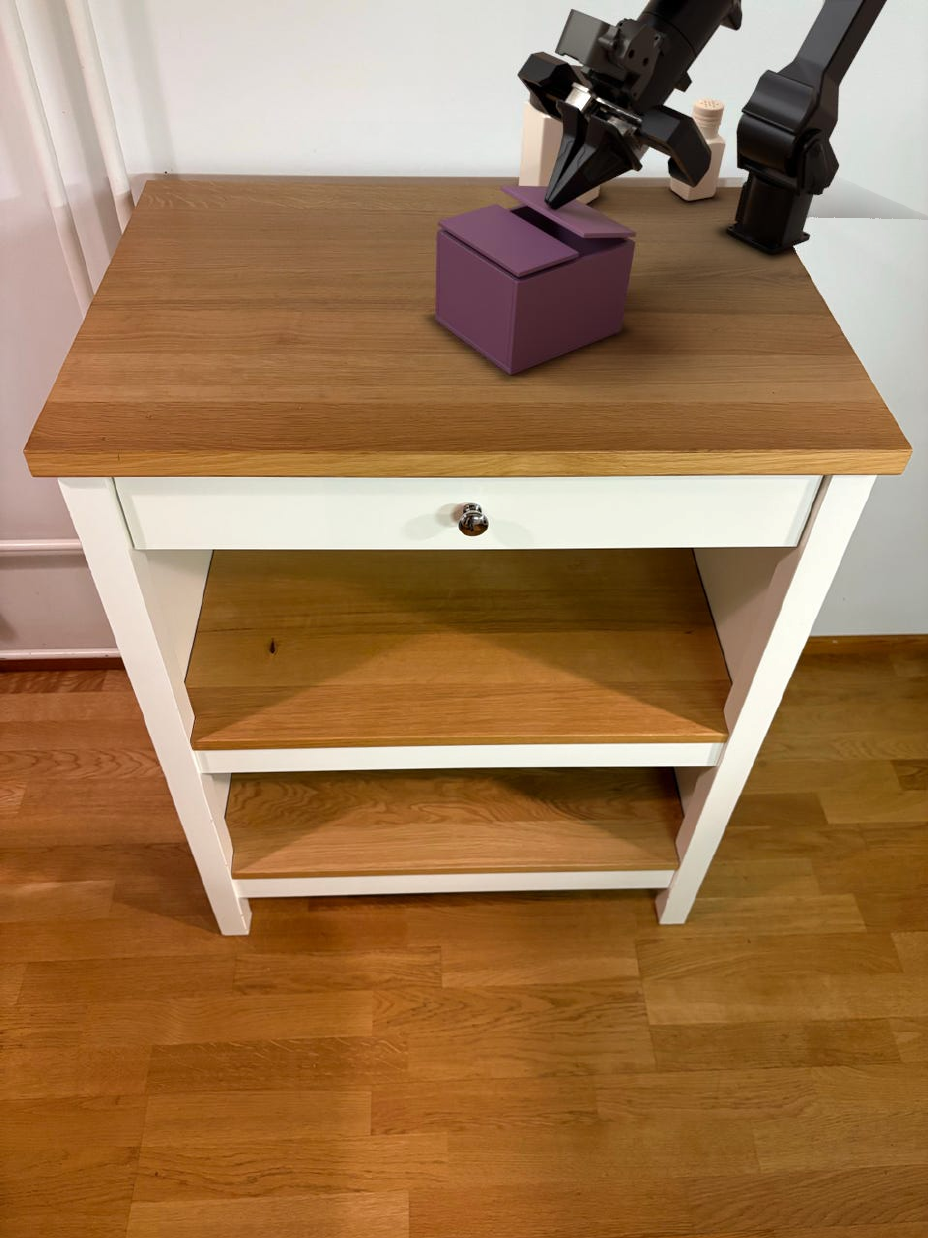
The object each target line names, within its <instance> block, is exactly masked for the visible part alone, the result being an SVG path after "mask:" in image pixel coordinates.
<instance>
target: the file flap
mask: <svg viewBox="0 0 928 1238" xmlns="http://www.w3.org/2000/svg"><path fill="white" fill-rule="evenodd" d="M547 189H548V186H519V185H510V184H509V185H503V184H501V185H500V188H499V190H500V191H501V192H503V193H504V194H506V195H508V196H510V197H511V198H513V199H515V200H517V201H518V202H520V203H522V204H525V205H527V206H529V207H531V208H532V209H534V210H536V211H537V212H539V213H541V214H543V215H544V216H546V217H548V218H549V219H551V220H553V221H555V222H556V223H558V224H560V225H562V226H563V227H565V228H567V229H568V230H570V231H572V232H574V233H575V234H577V235H579V236H581V237H582V238H615V237H627V238H636V236H637V231H635V230H632V228H631V229H630V228H629V227H627V226H626V225H623V224H622V223H620V222H618V221H616V220H615V219H612V218H611V217H609V216H607V215H606V214H604V213H602V212H600V211H599V210H597V209H594V208H593V207H591V206H589V205H588V204H584V203H582V202H580V201H578V200H576V199H574V200H573V201H571V202H569V203H567V204H566V205H564V206H562V207H560V208H559V209H557V210H554V209H552V208H550V207H548V205H547V204H546V203H545V201H544V199H545V195H546V192H547Z"/></svg>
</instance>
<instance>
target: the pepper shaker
mask: <svg viewBox="0 0 928 1238" xmlns="http://www.w3.org/2000/svg"><path fill="white" fill-rule="evenodd" d="M692 107H693V108H692V113H691V117H692V118H693V119H694V121H695V123H696V124H697V126H698V128H699V130H700V132H701V133H702V135H703V137H704V139H705V141H706V142H707V144H708V146H709V148H710V149H711V151H712V155H711V162H710V167H709V170H708V171H707V173H706V174H705V175H704V177H703V178H702V179H701V181H700V182H699V183H698V185H697V186H696V187H694V188H693V187H691V186H689V185H687V184H685V183H683V182H681V181H679V180H677V179H675V178H673V177H671V176H670V181H669V188H670V190H671V191H672V192H674V193H675V194H677V195H678V196H679V197H681V198H682V199H683V200H684V201H695V200H700V199H706V198H712V197H713V196H714V195H715V193H716V191H717V190H716V189H717V185H718V181H719V177H720V172H721V167H722V163H723V159H724V154H725V149H726V144H727V143H726V140H725V139H724V138H723V136H722V135H720V134H719V130H720V126H721V125H722V120H723V115H724V110H725V107H726V105H725V104H724V103H723V102H722V101H720V100H717V99H712V98H700V99H696V100H695V101H694V103H693V106H692Z"/></svg>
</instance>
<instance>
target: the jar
mask: <svg viewBox="0 0 928 1238" xmlns="http://www.w3.org/2000/svg"><path fill="white" fill-rule="evenodd" d="M570 66H571V67H572V69H573V70H574V72H575V73H576V75H577V76H578V78H579V79H580V81H581V82H582V84H583V85H584V86H585V87H586V88H588V89H590V88H591V86H592V84H591V83H590V81H588V80H586V79H585V78H584V76H583V75H582V73H581V72H580V69H581V68H582V66H583V65H576V64H575V65H574V64H570ZM600 110H602V111H604V110H603V109H602V107H601V108H600ZM605 112H606V111H605ZM562 135H563V123H561V122H559V121H557V120H555V119H553V118H551V117H550V116H549V115H548V114H547V113H545V112H544V110H543V109H542V108H541V106H540V105H539V104H538V102H537V101H536V100H535V98H534V97H533V96H532V94H531V93H530V92H529V99H527V100H526V101H525V102H524V112H523V125H522V135H521V137H522V139H521V151H520V163H519V177H518V186H548V185H549V182H550V179H551V176H552V172H553V169H554V166H555V163H556V159H557V156H558V153H559V149H560V144H561V140H562ZM600 188H601V185H599V186H597V187H595V188H594V189H592V190H590V191H588V192H586V193H585V194H583V195H581V196H579V197H578V198H576V200H578V201H580V202H582V203H584V204H586V205H588V204H589V203H590V202H592V201H593V200H595V199H597V198H598V197H599V195H600Z"/></svg>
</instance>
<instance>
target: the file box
mask: <svg viewBox="0 0 928 1238" xmlns="http://www.w3.org/2000/svg"><path fill="white" fill-rule="evenodd" d="M437 226H438V227H440V228H439V229H437V230H436V249H435V251H436V255H435V257H436V258H435V259H436V260H435V265H436V266H435V309H434V310H435V311H434V312H435V316H434V320H435V322H437V323H439V325H441V326H443V327H444V328H445V329H446V330H448V331H449V332H451V334H453V335H454V336H456V337H457V338H459V339H460V340H461V341H463V342H464V343H466V344H467V345H468V346H469V347H471V348H472V349H474V351H476V352H478V353H479V354H480V355H482V356H483V357H485V358H486V359H487V360H488V361H490V362H492V363H493V364H494V365H496V366H497V367H498V368H500V369H501V370H502V371H503V372H505V373H506V374H507V375H509V376H513V375H515V374H517V373H520V372H523V371H525V370H527V369H530V368H533V367H536V366H538V365H540V364H542V363H546V362H548V361H550V360H553V359H555V358H558V357H560V356H563V355H566V354H567V353H571V352H574V351H575V350H578V349H580V348H583V347H585V346H589V345H590V344H593V343H595V342H598V341H601V340H603V339H605V338H608V337H610V336H613V335H616V334H618V333H621V331H622V325H623V319H624V313H625V309H626V308H625V307H626V301H627V296H628V289H629V284H630V279H631V271H632V265H633V259H634V254H635V249H636V248H635V247H636V241H634V240H632V239H631V238H630V237H615V238H582V237H581V236H579V235H577V234H575V233H574V232H572V231H570V230H568V229H567V228H565V227H563V226H562V225H560V224H558V223H556V222H555V221H553V220H551V219H549V218H548V217H546V216H544V215H543V214H541V213H539V212H537V211H536V210H534V209H532V208H531V207H529V206H527V205H525V204H524V203H522V204H519V205H515V206H512V207H508V208H505V207H503V206H501V205H500V204H498V203H493V204H490V205H487V206H484V207H480V208H477V209H474V210H470V211H466V212H464V213H459V214H456V215H454V216H450V217H446V218H443V219H439V220H437Z"/></svg>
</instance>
